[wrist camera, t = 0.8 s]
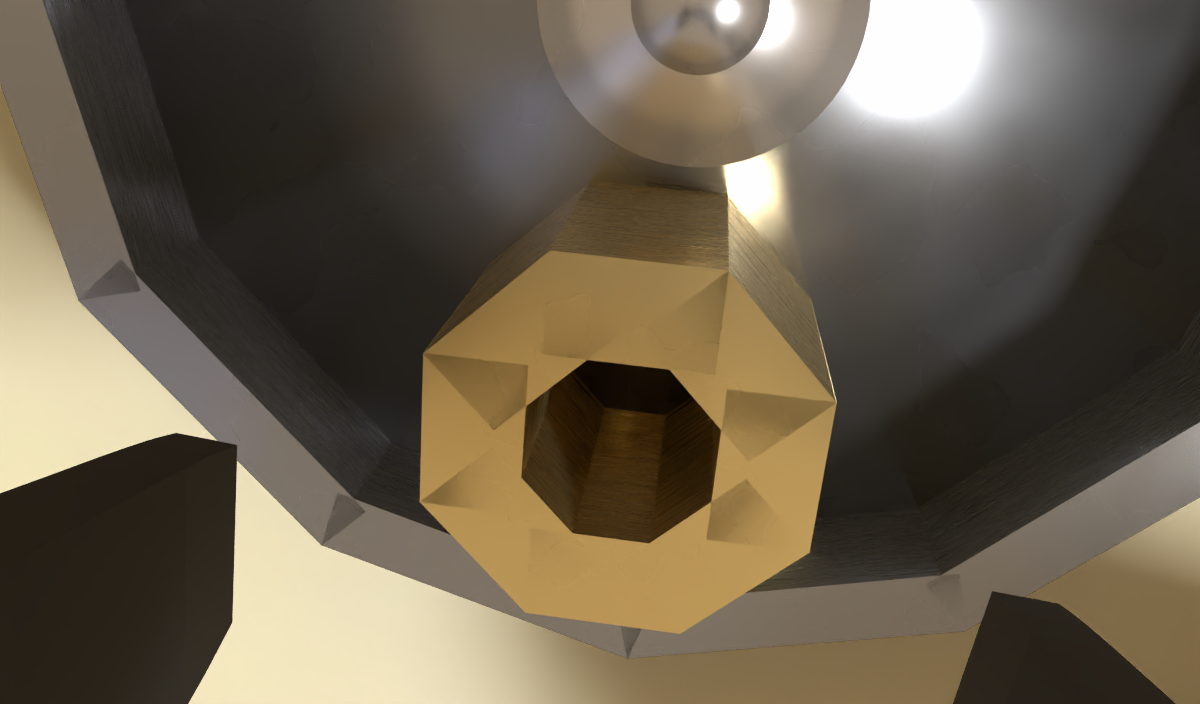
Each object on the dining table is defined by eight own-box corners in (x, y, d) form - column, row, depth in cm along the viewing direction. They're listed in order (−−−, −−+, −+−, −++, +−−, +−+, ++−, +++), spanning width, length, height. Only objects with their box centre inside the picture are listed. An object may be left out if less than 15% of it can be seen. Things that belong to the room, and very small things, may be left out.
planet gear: (622, 535, 18) (595, 687, 14) (423, 317, 17) (340, 419, 13) (867, 369, 16) (908, 490, 13) (666, 117, 15) (647, 171, 12)
